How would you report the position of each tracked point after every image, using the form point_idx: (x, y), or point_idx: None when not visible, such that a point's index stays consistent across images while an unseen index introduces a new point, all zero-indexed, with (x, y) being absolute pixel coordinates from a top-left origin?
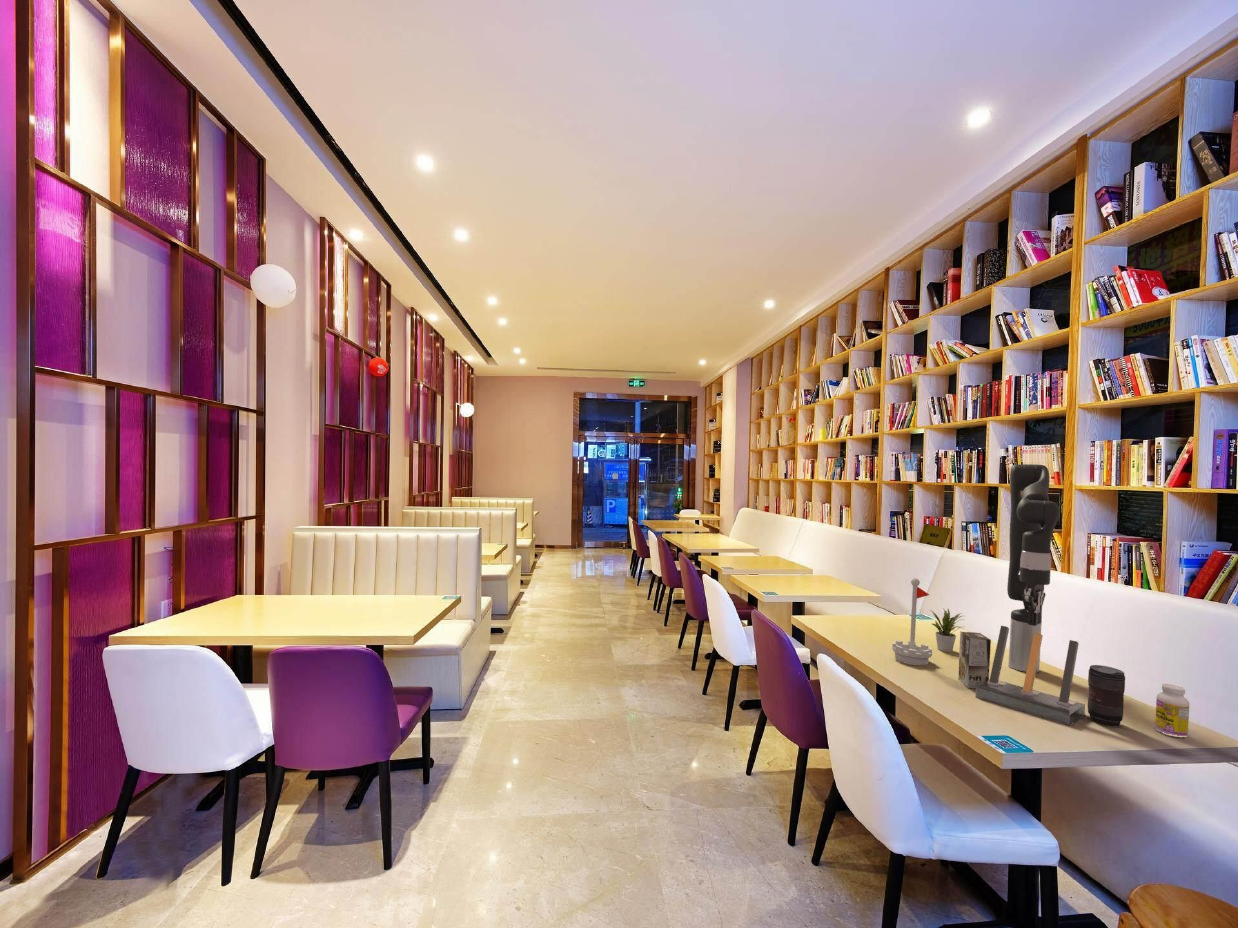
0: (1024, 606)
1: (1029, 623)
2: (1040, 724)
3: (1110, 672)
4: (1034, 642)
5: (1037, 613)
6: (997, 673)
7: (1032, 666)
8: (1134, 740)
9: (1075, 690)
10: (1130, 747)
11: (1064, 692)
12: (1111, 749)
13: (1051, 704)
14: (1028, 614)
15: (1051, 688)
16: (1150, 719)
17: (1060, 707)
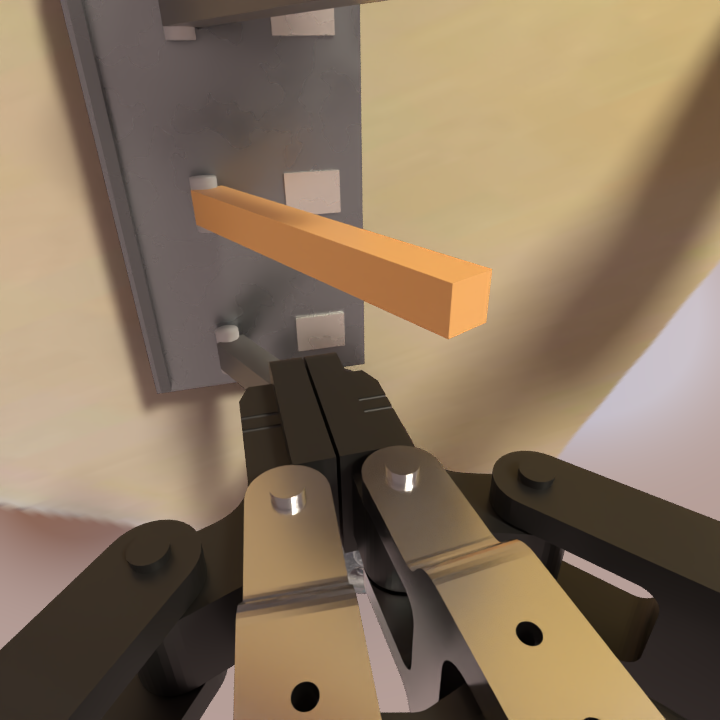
0: (16, 641)
1: (271, 383)
2: (31, 317)
3: (358, 564)
4: (382, 275)
5: (345, 552)
6: (191, 19)
7: (270, 246)
8: (238, 498)
9: (640, 214)
10: (156, 518)
11: (240, 373)
12: (66, 510)
13: (213, 305)
14: (286, 445)
15: (596, 147)
16: (495, 442)
17: (211, 340)
